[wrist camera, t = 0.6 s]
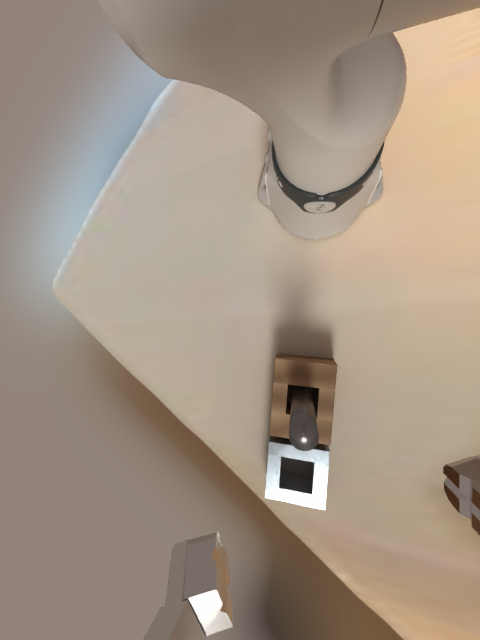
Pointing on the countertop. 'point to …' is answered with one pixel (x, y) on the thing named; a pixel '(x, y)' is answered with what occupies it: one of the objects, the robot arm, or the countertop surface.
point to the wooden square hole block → (309, 375)
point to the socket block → (296, 485)
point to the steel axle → (303, 419)
